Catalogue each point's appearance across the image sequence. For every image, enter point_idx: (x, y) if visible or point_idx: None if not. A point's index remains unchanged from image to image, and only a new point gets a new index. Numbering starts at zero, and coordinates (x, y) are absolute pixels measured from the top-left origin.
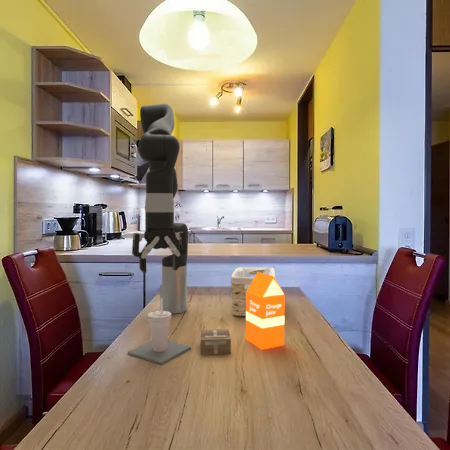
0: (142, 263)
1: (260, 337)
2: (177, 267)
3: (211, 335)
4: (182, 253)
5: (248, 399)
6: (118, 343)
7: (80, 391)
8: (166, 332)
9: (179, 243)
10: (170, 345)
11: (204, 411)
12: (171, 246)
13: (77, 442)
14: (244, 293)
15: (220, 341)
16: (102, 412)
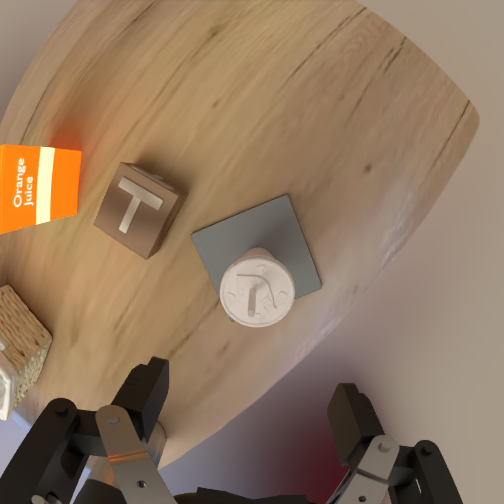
0: (369, 420)
1: (67, 156)
2: (149, 363)
3: (142, 208)
4: (79, 413)
5: (225, 13)
6: (310, 346)
7: (431, 187)
8: (248, 254)
9: (70, 487)
10: (227, 268)
11: (300, 21)
12: (150, 483)
13: (447, 78)
14: (11, 341)
15: (141, 171)
16: (420, 109)
